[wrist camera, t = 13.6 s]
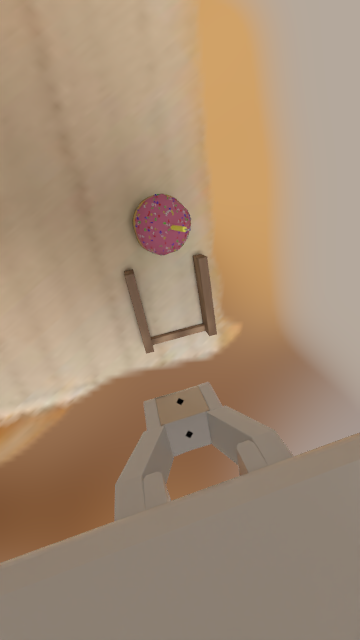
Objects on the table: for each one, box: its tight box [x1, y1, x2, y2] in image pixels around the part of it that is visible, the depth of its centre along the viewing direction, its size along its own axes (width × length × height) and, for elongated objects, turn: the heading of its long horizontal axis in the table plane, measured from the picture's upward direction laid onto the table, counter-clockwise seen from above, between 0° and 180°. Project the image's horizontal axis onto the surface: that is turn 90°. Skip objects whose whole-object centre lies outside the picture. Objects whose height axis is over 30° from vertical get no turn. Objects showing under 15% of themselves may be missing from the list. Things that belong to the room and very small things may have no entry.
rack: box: [124, 254, 217, 353], centre depth 45 cm, size 14×15×4 cm
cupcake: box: [133, 194, 191, 255], centre depth 36 cm, size 9×8×12 cm
